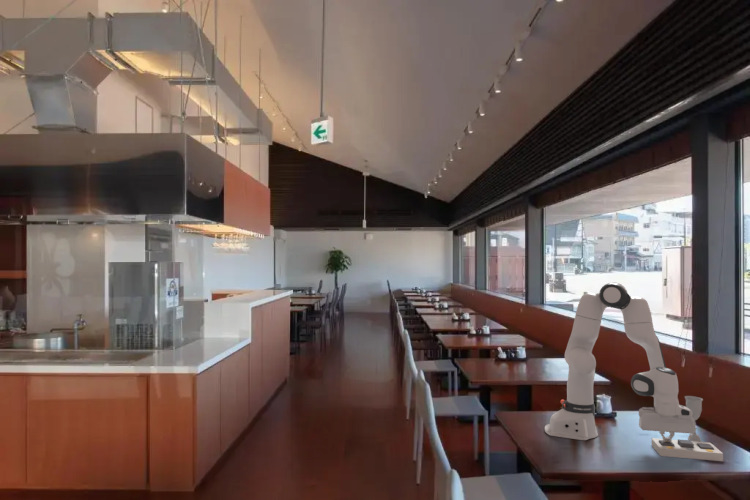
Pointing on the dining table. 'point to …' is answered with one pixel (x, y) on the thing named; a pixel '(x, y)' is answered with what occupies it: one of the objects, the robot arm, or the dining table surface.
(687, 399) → the chalice
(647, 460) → the dining table surface
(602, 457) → the dining table surface
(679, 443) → the button middle
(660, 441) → the button left
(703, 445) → the button right
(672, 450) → the panel
